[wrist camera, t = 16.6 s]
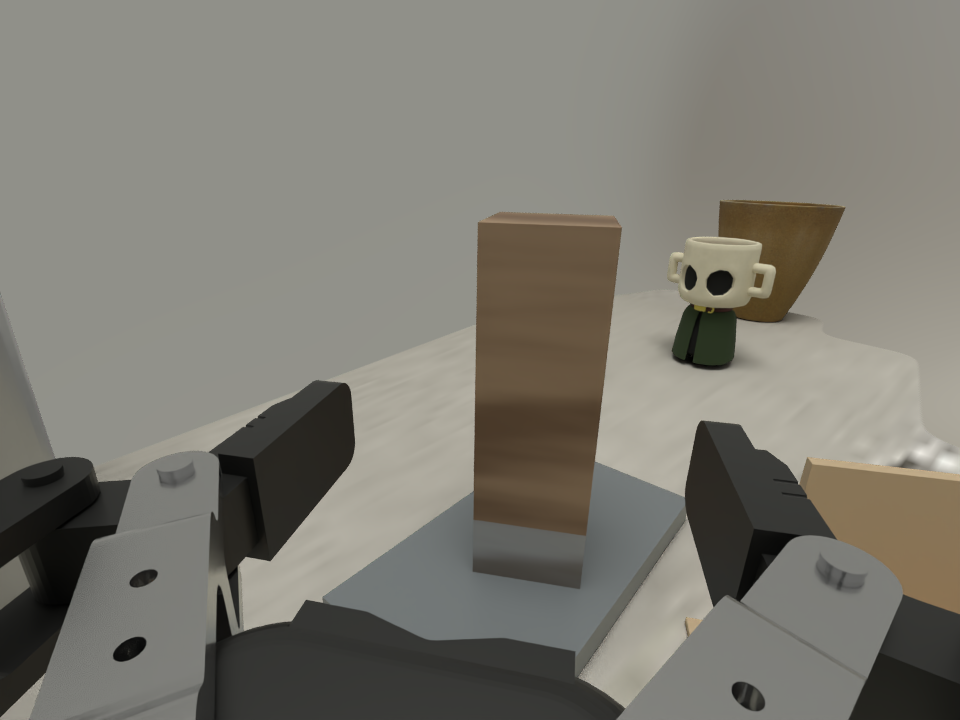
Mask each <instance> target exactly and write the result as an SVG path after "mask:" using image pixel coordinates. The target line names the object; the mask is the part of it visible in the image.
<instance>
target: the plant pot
mask: <svg viewBox="0 0 960 720" xmlns="http://www.w3.org/2000/svg"><path fill="white" fill-rule="evenodd" d="M844 209H845V207H844V206H838V205H826V204H811V203H795V202H775V201H751V200H750V201H747V200H720V211H719V237H725V238H737V239H744V240H750V241H755V242H759V243H761V244H762V250H761V255H760V259H759V263H760V264H767V265H772V266H774V267H775V269H776V274H775V278H774V283H773V287H772V291H771V294H770V296H769V298H764V299H763V298H757V297H751V298H750V300H749V302H748V303H747V304H746V305H745V306H740V307H735V308H733V309H732V310H733V311H735V314H736V317H738V318H742V319H746V320H752V321H760V322H776V321H780V320H782V319H783V317H784V316H785V315H786V313H787V312H788V310H789V309H790V308H791V306H792V305H793V304H794V302H795V301H796V299H797V298H798V296H799V295H800V293H801V292H802V290H803V289H804V287H805V286H806V284H807V283H808V281H809V279H810V278H811V276H812V274H813V273H814V271H815V269H816V267H817V266H818V264H819V262H820V260H821V259H822V256H823V255H824V253H825V251H826V249H827V247H828V245H829V243H830V241H831V239H832V236H833V234H834V232H835V230H836V228H837V226H838V223H839V221H840V219H841V217H842V214H843V212H844ZM763 278H764V274H759V273H756V278H755V282H754V287H757V288H761V287H762V283H763Z"/></svg>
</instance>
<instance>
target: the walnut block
mask: <svg viewBox="0 0 960 720" xmlns="http://www.w3.org/2000/svg"><path fill="white" fill-rule="evenodd" d="M621 230H622V227H621V226H620V224H619V223H618V221H617V220H616V218H615V217H614V216H603V215H573V214H543V213H513V212H499V213H497V214H495V215H492V216H491V217H488V218H486V219H484V220H482V221H480V222H478V252H477V253H478V255H477V316H476V318H477V319H476V380H475V445H474V509H473V572H477V573H483V574H490V575H496V576H502V577H508V578H514V579H520V580H526V581H532V582H539V583H545V584H551V585H557V586H563V587H569V588H575V589H580V585H581V576H582V567H583V559H584V550H585V541H586V533H587V524H588V515H589V507H590V498H591V490H592V481H593V472H594V464H595V455H596V446H597V438H598V429H599V420H600V412H601V403H602V395H603V386H604V377H605V369H606V360H607V351H608V343H609V334H610V325H611V317H612V308H613V299H614V291H615V281H616V274H617V273H616V272H617V265H618V256H619V247H620V239H621Z"/></svg>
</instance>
